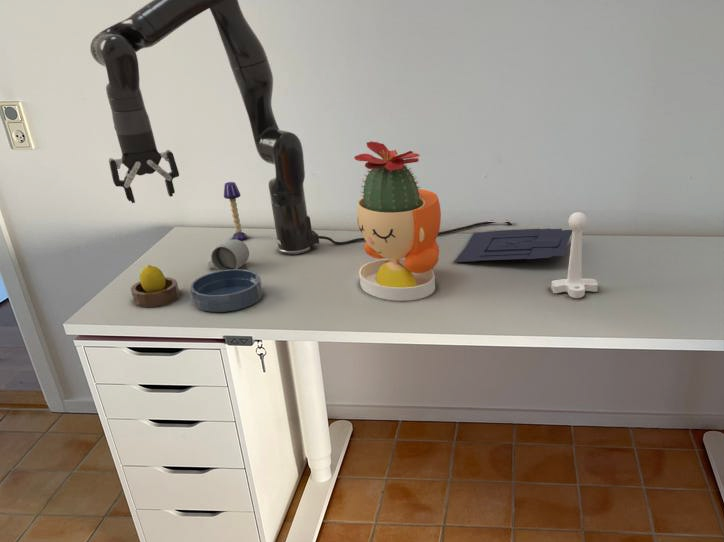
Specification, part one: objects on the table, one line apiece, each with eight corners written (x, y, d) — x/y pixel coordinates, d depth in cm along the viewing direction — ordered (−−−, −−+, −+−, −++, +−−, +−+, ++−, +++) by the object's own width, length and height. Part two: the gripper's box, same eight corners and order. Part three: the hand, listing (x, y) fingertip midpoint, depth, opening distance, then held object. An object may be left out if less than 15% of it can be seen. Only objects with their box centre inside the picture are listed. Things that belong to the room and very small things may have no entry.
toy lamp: (229, 238, 213) (218, 183, 205) (243, 234, 216) (233, 179, 207) (236, 242, 210) (226, 186, 202) (251, 238, 213) (241, 183, 204)
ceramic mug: (253, 263, 195) (248, 236, 192) (240, 274, 188) (234, 247, 185) (217, 261, 197) (211, 235, 193) (203, 273, 190) (196, 245, 186)
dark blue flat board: (563, 267, 187) (563, 254, 185) (454, 271, 195) (452, 259, 193) (574, 236, 207) (573, 224, 206) (475, 241, 215) (473, 229, 213)
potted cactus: (401, 307, 170) (391, 160, 152) (343, 283, 183) (327, 144, 166) (463, 280, 183) (460, 142, 166) (405, 259, 197) (397, 129, 179)
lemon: (160, 301, 173) (152, 270, 169) (139, 299, 174) (131, 268, 170) (173, 291, 177) (165, 261, 173) (153, 290, 178) (145, 260, 174)
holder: (175, 286, 182) (172, 273, 180) (183, 301, 174) (180, 288, 173) (131, 295, 178) (128, 282, 176) (138, 311, 170) (134, 297, 168)
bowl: (252, 280, 185) (249, 264, 183) (271, 303, 173) (268, 286, 171) (187, 294, 178) (184, 278, 175) (202, 319, 166) (198, 301, 163)
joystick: (593, 285, 180) (599, 208, 170) (600, 298, 173) (606, 219, 163) (550, 287, 179) (553, 210, 169) (555, 300, 173) (558, 220, 163)
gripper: (102, 137, 156) (122, 208, 164) (169, 128, 162) (186, 197, 170) (97, 130, 161) (117, 200, 170) (163, 122, 168) (179, 189, 176)
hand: (152, 198), depth 170 cm, fingers open, 8 cm apart
